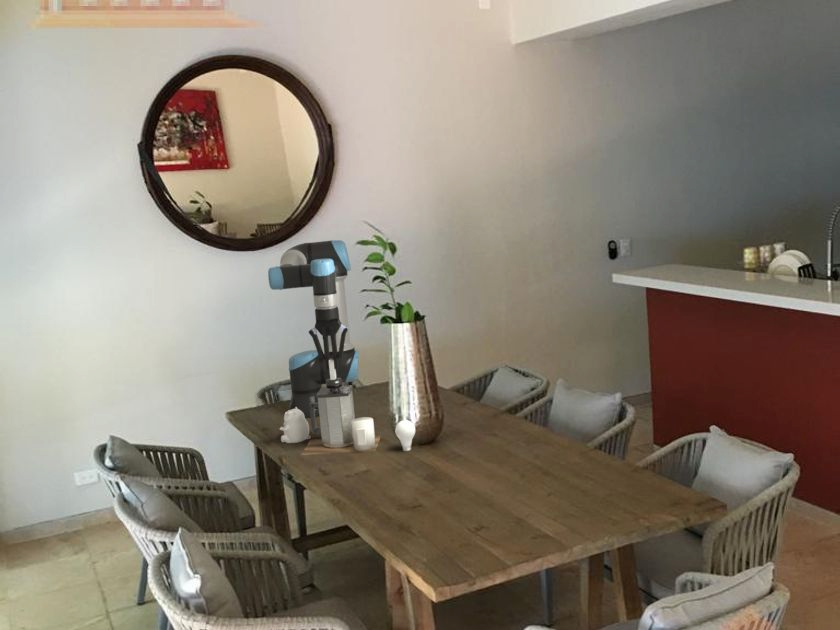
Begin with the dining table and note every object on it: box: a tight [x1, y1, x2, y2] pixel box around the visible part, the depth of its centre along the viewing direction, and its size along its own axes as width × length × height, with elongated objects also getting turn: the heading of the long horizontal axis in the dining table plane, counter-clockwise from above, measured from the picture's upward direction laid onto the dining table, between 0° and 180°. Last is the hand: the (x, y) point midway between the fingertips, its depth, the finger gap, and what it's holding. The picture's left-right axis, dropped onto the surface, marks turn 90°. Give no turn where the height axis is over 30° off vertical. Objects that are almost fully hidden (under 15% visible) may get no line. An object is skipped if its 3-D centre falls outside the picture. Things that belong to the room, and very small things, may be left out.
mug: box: [351, 416, 376, 452], centre depth 278 cm, size 9×7×9 cm
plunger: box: [325, 378, 343, 391], centre depth 284 cm, size 8×8×18 cm
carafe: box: [309, 384, 356, 448], centre depth 285 cm, size 11×14×18 cm
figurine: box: [278, 407, 311, 444], centre depth 295 cm, size 10×10×12 cm
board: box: [300, 434, 382, 456], centre depth 284 cm, size 16×24×2 cm, turn 87°
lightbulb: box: [394, 419, 416, 452], centre depth 273 cm, size 6×6×11 cm
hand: (333, 378), depth 283 cm, fingers closed
